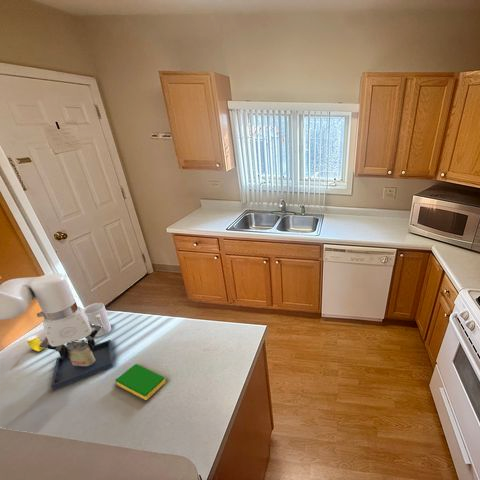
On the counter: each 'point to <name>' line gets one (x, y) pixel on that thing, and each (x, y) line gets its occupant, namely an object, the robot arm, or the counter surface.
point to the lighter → (80, 353)
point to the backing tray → (71, 373)
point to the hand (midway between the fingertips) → (79, 351)
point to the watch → (34, 343)
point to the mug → (98, 317)
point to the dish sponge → (140, 381)
